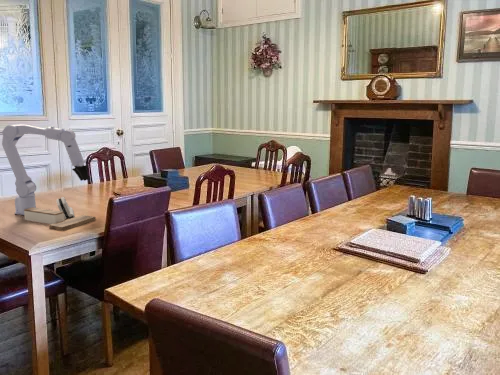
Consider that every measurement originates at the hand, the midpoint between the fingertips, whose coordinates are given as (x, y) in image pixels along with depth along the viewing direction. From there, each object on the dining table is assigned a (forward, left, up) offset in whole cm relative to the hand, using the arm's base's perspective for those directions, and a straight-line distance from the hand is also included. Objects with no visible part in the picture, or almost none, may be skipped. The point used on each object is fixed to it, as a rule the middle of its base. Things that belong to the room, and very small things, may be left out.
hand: (84, 180), depth 231 cm
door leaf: (+10, -18, -17) cm, 27 cm away
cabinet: (-6, -20, -17) cm, 27 cm away
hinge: (-6, -8, -17) cm, 20 cm away
